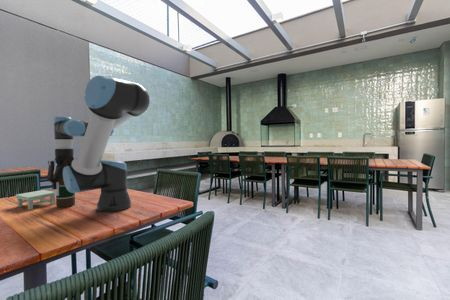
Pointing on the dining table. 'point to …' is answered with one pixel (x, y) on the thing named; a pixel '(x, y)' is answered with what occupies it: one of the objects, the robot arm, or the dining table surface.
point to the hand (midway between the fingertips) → (65, 193)
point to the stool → (35, 198)
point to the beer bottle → (64, 192)
